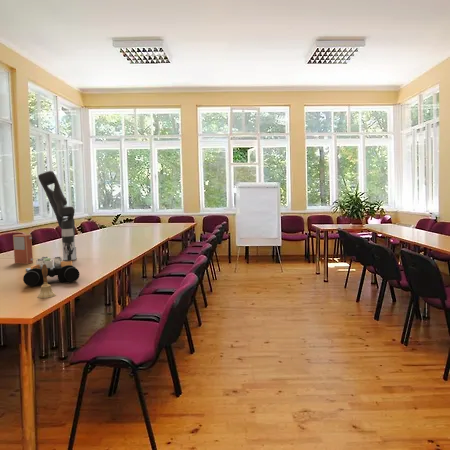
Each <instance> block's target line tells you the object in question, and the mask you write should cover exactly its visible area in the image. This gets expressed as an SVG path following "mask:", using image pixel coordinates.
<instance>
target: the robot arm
mask: <svg viewBox="0 0 450 450" xmlns="http://www.w3.org/2000/svg"><path fill="white" fill-rule="evenodd" d="M37 178H38V181H39V183H40V185H41V187H42V189H43V190H44V192H45V194H46V197H47V199H48V202H49V204H50V206H51V208H52V210H53V212H54V215H55V217H56V221H57V224H58V226H59V228H60V229H61V244H62V245H61V247H62V248H61V249H62V261H73V260H74V261H75V260H77V259H78V258H77V257H78V256H77V247H76V241H75V240H76V239H75V237H76V236H75V233H76V230H75V229H76V228H75V227H76V226H75V225H76V224H75V223H76V222H75V219H74V216H75V212H76V211H75V208H74V207H73V205H67V204H68V201H67V198H66V197H65V195H64V193H63V191H62V189H61V188H62V187H61V185H60V183H59V180H58V177H57V175H56V174H55V171H53V170H48V171H45V172H42V173H40V174H38V176H37ZM50 185H54V187H53V190H52V189H51V188H50V187H49V186H50Z"/></svg>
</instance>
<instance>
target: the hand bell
mask: <svg viewBox="0 0 450 450" xmlns="http://www.w3.org/2000/svg"><path fill="white" fill-rule="evenodd" d="M42 274H43V277H44V284H42V285H40V291H39V294H38V295H37V299H47V298H52V297H55V296H56V293H55V292H54V291H53V290H52V289H53V288H52V285H51V284H49V283H48V276H47V274H48V269H47V266H46V264H43V267H42Z"/></svg>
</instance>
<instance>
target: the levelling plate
mask: <svg viewBox="0 0 450 450" xmlns="http://www.w3.org/2000/svg"><path fill="white" fill-rule="evenodd" d="M40 259H44V260H45V264H46V266H47V268H50V269H53V268H55V267H54V259H53V260H52V258H51V257H49V256H42V257H40ZM30 269H31V267H28V268H27V267H26V268H25V272H27V271H28V270H30Z"/></svg>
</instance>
